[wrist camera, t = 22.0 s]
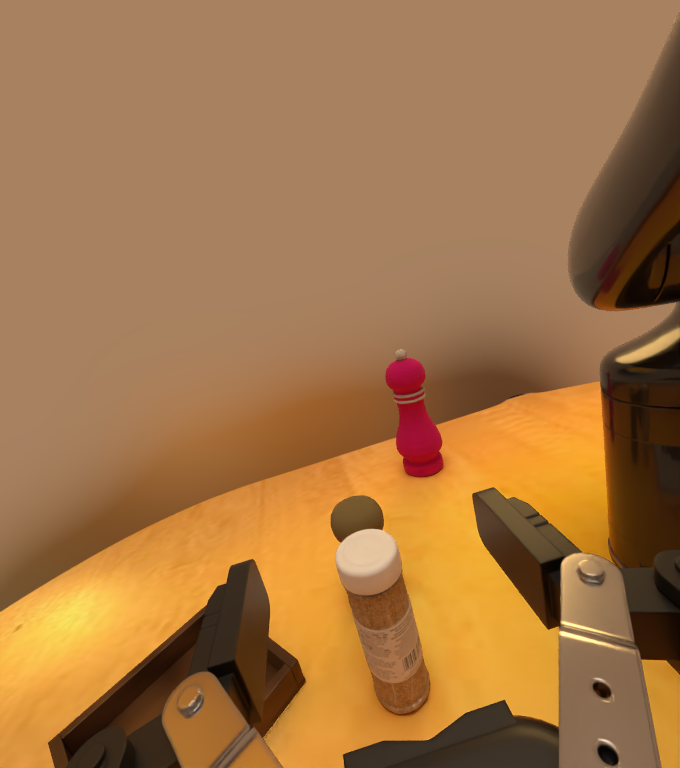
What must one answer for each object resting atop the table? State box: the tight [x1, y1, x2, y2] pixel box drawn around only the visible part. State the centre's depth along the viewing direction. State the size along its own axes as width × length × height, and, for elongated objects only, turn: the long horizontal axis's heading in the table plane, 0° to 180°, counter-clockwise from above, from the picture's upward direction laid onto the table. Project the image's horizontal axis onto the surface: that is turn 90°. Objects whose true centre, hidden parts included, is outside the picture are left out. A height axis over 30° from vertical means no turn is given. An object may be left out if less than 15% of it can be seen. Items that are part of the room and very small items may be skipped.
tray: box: [48, 605, 305, 768], centre depth 30 cm, size 16×14×2 cm
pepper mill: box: [386, 349, 443, 477], centre depth 57 cm, size 7×7×20 cm
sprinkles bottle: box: [335, 529, 430, 714], centre depth 27 cm, size 5×5×14 cm
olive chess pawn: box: [331, 496, 384, 606], centre depth 36 cm, size 6×6×11 cm
